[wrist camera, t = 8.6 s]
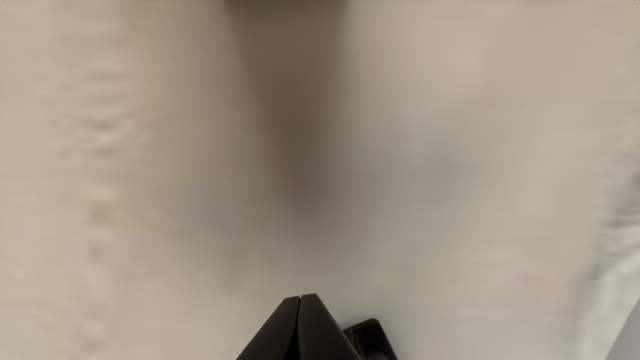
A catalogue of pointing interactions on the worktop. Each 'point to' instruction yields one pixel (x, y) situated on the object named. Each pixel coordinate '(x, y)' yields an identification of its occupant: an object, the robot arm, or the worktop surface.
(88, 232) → the worktop surface
